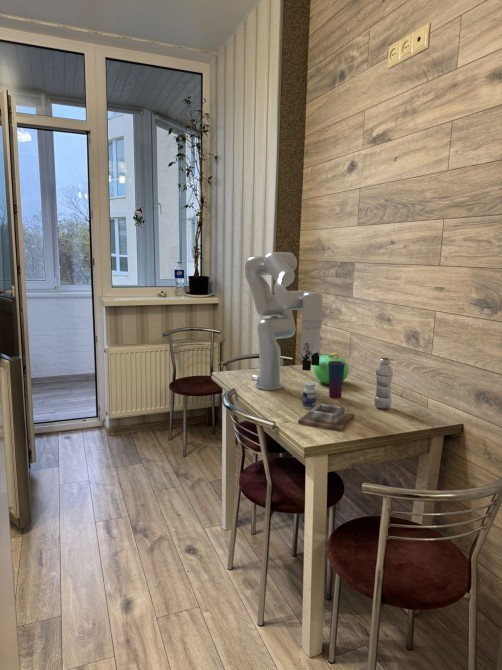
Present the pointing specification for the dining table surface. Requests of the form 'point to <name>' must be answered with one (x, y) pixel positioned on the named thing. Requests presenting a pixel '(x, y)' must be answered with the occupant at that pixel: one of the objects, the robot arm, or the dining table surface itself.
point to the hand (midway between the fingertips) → (310, 367)
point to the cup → (335, 378)
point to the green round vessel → (323, 369)
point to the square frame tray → (327, 417)
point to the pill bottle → (309, 396)
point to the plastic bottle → (383, 384)
